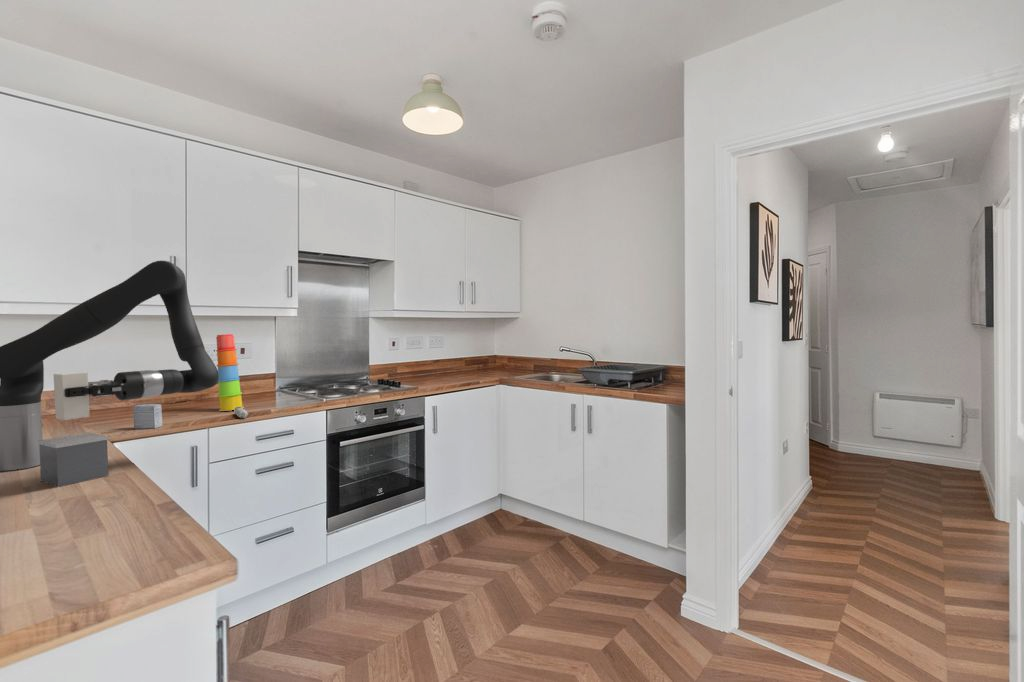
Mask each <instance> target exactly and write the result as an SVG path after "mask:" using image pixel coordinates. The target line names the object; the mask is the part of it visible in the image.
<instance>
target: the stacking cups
mask: <svg viewBox="0 0 1024 682" xmlns="http://www.w3.org/2000/svg"><path fill="white" fill-rule="evenodd" d="M215 339H216V350H215V351H216V357H217V364H215V366H216V367H217V370H218V374H219V379H218V382H217V383H218V393H219V394H217V397H219V409H220V410H234V409H235V408H236V407H242V408H244V409H245V406H243V400H242V399H243V398H242V397H243V396H242V394H243V392H242V391H241V383H240V379H241V377H240V376H239V367H238V365H239V363H238V361H237V353H236V352H237V351H236V350H237V348H236V345H235V344H236V343H235V336H234V334H230V333H227V334H217V335H216V338H215Z"/></svg>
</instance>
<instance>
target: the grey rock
mask: <svg viewBox="0 0 1024 682" xmlns="http://www.w3.org/2000/svg"><path fill="white" fill-rule="evenodd" d="M242 407H243V406H242ZM242 407H236V408H235V409H234V411H233V413H234V414H235V415H236V416H237V417H238V418H240V419H246V418H247V417H248V415H249V413H248V411H247V410H246V409H245V408H244V409H243V408H242Z"/></svg>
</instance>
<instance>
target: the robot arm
mask: <svg viewBox="0 0 1024 682" xmlns="http://www.w3.org/2000/svg"><path fill="white" fill-rule="evenodd" d="M186 281H187V280H186V275H185V273H184V271H183V269H181V268H180V267H178V266H177V265H176V264H174V263H172V262H171V261H168V260H156V261H155V260H154V261H152V262H151V263H148V264H147V265H146V266H144V267H143V268H141V269H139V270H138V271H137V272H135V273H134V274H133V275H131V276H130V277H128V278H127V279H125V280H124V281H122V282H120V283H119V284H116V285H115V286H113V287H110V288H108V289H106V290H104V291H102V292H101V293H99V294H96V295H95V296H93V297H90V298H88V299H86V300H85V301H83V302H81V303H79V304H78V305H76V306H74V307H72V308H70V309H69V310H67V311H65V312H64V313H62V314H60V315H59V316H57V317H56V318H54V319H51V321H49V322H47V323H45V324H44V325H43V326H41V327H39V328H38V329H36V330H35V331H32V332H30V333H28V334H26V335H24V336H22V337H19V338H17V339H15V340H12V341H10V342H8V343H6V344H3V345H0V472H3V471H4V472H5V471H15V470H16V471H17V469H18V470H23V469H29V468H33V467H38V466H40V448H39V444H38V441H39V440H44V438H43V436H44V435H43V420H42V419H43V416H42V415H43V414H42V393H43V391H44V379H45V375H44V374H45V372H44V369H45V368H44V365H45V364H44V360H46V359H48V358H49V357H52V356H53V355H55V354H57V353H58V352H61V351H62V350H65V349H68V348H71V347H73V346H76V345H78V344H81V343H83V342H86V341H87V340H90V339H93V338H94V337H97V336H99V335H101V334H103V333H104V332H106V331H107V330H109V329H111V328H113V327H115V325H117V324H118V323H120V322H121V321H122V320H124V318H125V317H127V316H128V315H129V313H130V312H132V311H133V310H134V309H135V308H136V307H137V306H139V305H140V304H142V303H144V302H145V301H148V300H149V299H152V298H153V297H155V296H158V295H159V297H160V298H161V299H162V302H163V304H164V306H165V308H166V312H167V316H168V320H169V329H170V334H171V338H172V341H173V344H174V347H175V349H176V353H177V355H178V358H179V360H180V361H182V362H184V363H185V362H186V363H187V364H188V366H189V367H190V369H186V370H185V369H184V370H179V369H173V368H171V369H159V370H158V369H157V370H156V369H155V370H153V369H152V370H150V369H149V370H148V369H147V370H134V371H133V370H132V371H121V372H118V373H116V374H115V376H114V378H113V379H111V380H109V379H101V380H98V381H88V385H87V386H85V388H84V387H74V388H66V389H65V390H64V391H65V397H76V396H89V397H103V396H104V397H111V396H115V397H116V399H118V400H119V401H129V400H130V401H131V400H136V399H137V400H138V399H145V398H146V399H147V398H152V397H156V396H163V395H165V396H166V395H172V394H176V393H178V394H179V393H180V394H182V393H184V394H185V393H189V394H190V393H198V392H202V391H205V390H208V389H211V388H213V387H215V386H216V385H217V384H218V383H219V382H218V380H219V374H218V367H217V366H216V364H215V363H214V361H213V360H212V358H211V356H210V355H209V353H208V352H207V351H206V348H205V346H204V342H203V339H202V336H201V334H200V331H199V329H198V325H197V323H196V320H195V318H194V314H193V311H192V308H191V304H190V300H189V295H188V289H187V288H188V287H187V282H186Z"/></svg>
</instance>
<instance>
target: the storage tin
mask: <svg viewBox="0 0 1024 682" xmlns="http://www.w3.org/2000/svg"><path fill="white" fill-rule="evenodd" d="M108 440H109V436H108V435H104V434H99V433H93V432H86V433H78V434H71V435H65V436H59V437H58V436H57V437H53V438H51V437H50V438H46V439H43V440H39V441H38V444H39V448H40V465H39V466H40V467H39V468H40V471H39V472H40V481H41V480H42V481H44V482H43V483H45V482H47V483H46V484H48V483H50V484H49V485H51V484H53V485H52V486H54V485H56V486H55V487H57V486H60V487H64V486H67V485H68V484H69V485H72V483H73V484H77V483H81V482H86V481H90V479H91V480H94V479H93V478H96V479H98V478H97V477H100V478H103V477H102V476H105V477H107V476H106V475H108V476H109V458H108V457H109V454H108ZM42 481H41V482H42ZM63 485H64V486H63Z"/></svg>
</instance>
